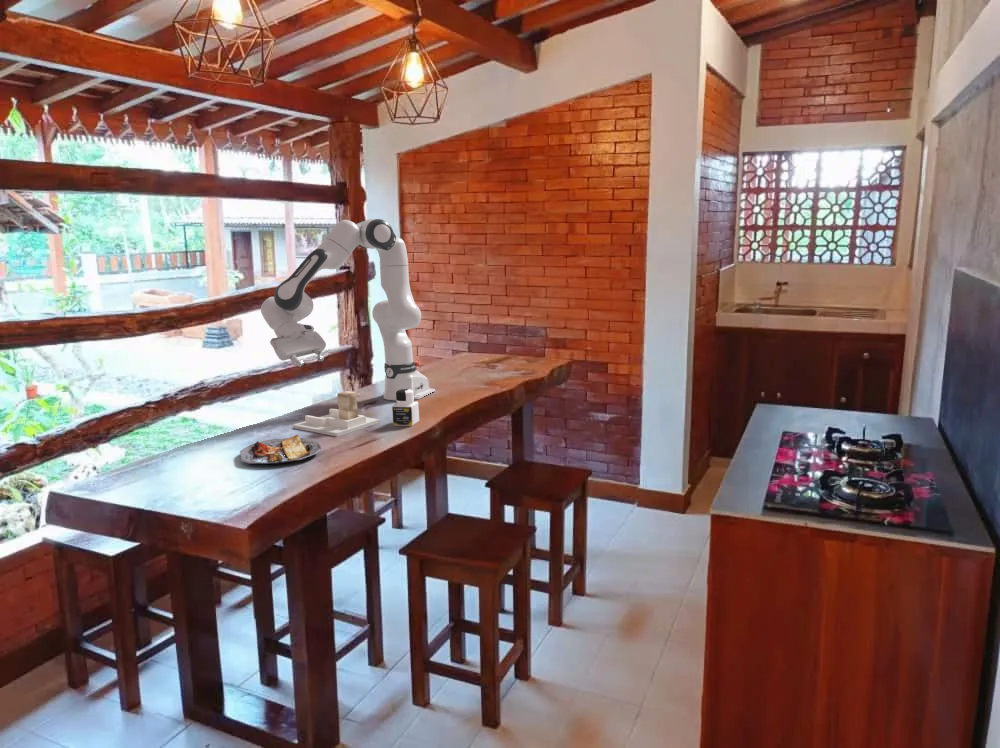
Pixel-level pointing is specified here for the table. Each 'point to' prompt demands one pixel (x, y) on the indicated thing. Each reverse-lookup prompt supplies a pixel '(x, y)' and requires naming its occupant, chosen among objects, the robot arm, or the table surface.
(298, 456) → the food plate
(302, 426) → the keyhole dock
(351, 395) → the beech peg
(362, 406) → the table surface
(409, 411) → the medicine bottle
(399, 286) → the robot arm
